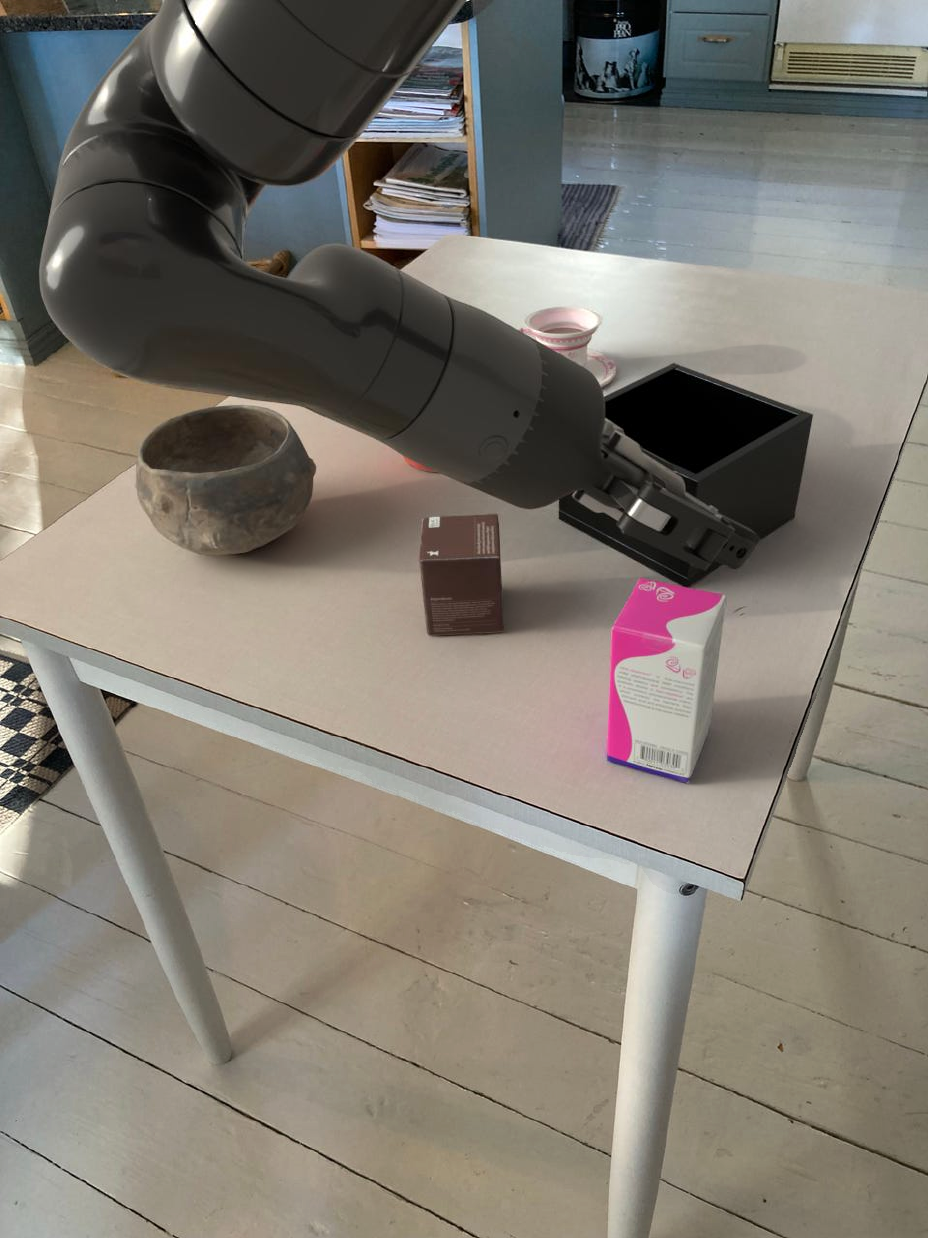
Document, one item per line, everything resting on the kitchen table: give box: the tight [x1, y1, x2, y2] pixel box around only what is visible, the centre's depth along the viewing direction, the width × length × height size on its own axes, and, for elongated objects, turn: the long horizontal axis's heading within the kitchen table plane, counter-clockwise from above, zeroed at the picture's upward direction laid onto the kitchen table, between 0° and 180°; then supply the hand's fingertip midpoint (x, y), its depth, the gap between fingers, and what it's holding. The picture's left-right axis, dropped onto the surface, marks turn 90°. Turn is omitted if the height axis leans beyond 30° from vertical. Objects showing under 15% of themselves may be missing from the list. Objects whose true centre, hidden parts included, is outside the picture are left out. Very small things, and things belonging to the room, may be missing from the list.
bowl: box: [134, 404, 317, 556], centre depth 87 cm, size 14×15×10 cm
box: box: [418, 513, 504, 636], centre depth 77 cm, size 6×6×7 cm
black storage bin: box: [558, 362, 814, 588], centre depth 85 cm, size 15×15×10 cm
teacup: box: [518, 306, 617, 388], centre depth 110 cm, size 12×12×6 cm
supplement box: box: [605, 577, 727, 785], centre depth 63 cm, size 6×6×12 cm
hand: (702, 514), depth 56 cm, fingers open, 8 cm apart
